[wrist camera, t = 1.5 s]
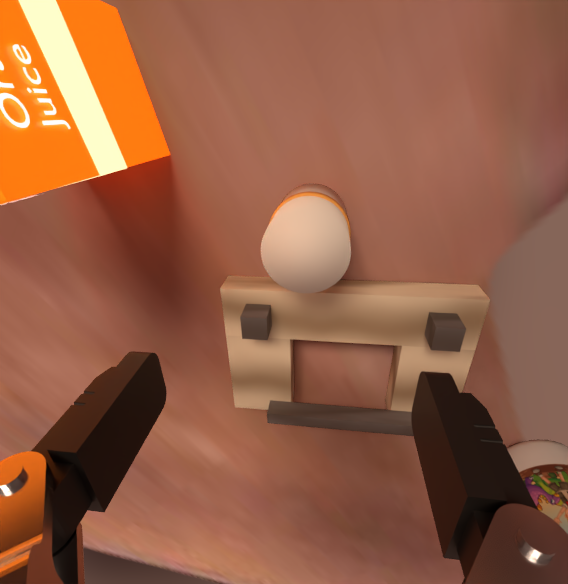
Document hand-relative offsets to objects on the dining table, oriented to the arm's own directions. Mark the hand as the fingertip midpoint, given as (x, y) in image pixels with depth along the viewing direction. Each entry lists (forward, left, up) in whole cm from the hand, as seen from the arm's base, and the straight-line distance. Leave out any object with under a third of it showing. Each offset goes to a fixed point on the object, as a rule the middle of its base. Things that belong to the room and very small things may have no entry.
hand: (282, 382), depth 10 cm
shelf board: (+11, +3, -17) cm, 21 cm away
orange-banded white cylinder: (0, 0, -18) cm, 18 cm away
